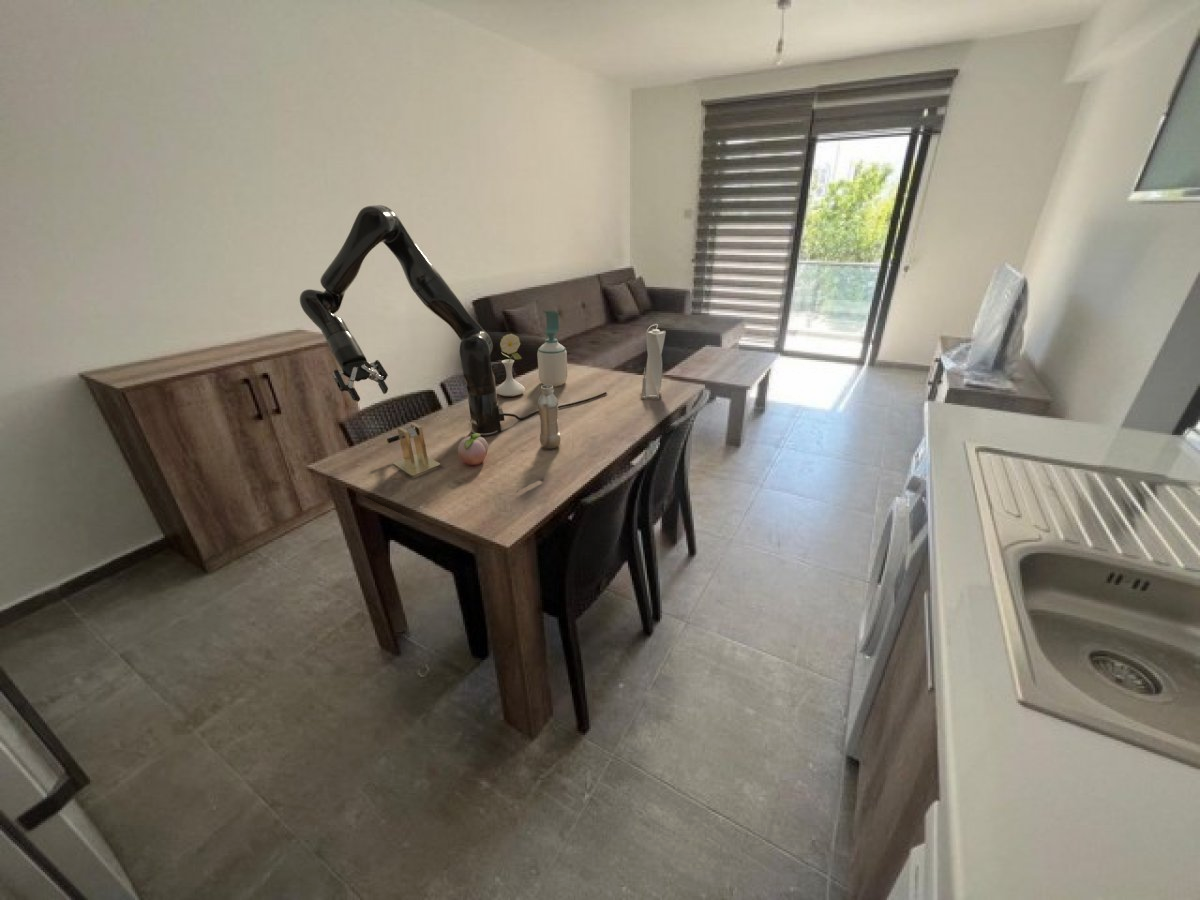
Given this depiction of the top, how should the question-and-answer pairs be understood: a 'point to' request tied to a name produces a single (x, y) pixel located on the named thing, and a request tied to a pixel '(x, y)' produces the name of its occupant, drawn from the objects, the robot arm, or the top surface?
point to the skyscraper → (653, 364)
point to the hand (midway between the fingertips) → (372, 396)
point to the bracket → (410, 462)
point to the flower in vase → (510, 366)
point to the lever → (411, 434)
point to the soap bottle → (552, 355)
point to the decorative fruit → (473, 449)
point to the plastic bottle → (548, 418)
